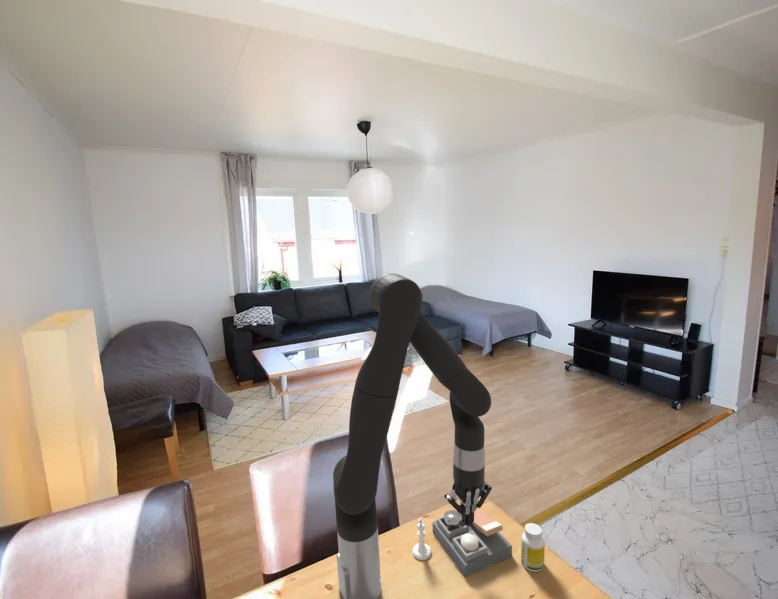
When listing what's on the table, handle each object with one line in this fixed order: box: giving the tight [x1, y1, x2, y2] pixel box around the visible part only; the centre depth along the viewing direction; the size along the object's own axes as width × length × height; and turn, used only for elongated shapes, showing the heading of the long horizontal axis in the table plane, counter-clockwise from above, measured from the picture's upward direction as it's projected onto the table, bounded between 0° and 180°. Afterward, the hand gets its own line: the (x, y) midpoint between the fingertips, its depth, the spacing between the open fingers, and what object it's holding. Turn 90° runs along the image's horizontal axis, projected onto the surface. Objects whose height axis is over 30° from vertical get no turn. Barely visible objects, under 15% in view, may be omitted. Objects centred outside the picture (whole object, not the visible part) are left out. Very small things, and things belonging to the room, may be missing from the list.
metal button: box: [443, 509, 461, 528], centre depth 108 cm, size 4×4×2 cm
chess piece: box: [412, 517, 432, 561], centre depth 104 cm, size 5×5×10 cm
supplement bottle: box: [520, 522, 546, 573], centre depth 99 cm, size 5×5×10 cm
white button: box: [461, 534, 479, 553], centre depth 101 cm, size 4×4×2 cm
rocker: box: [473, 508, 504, 536], centre depth 108 cm, size 5×10×1 cm, turn 23°
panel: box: [431, 508, 513, 577], centre depth 107 cm, size 14×16×4 cm
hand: (467, 523), depth 101 cm, fingers closed
